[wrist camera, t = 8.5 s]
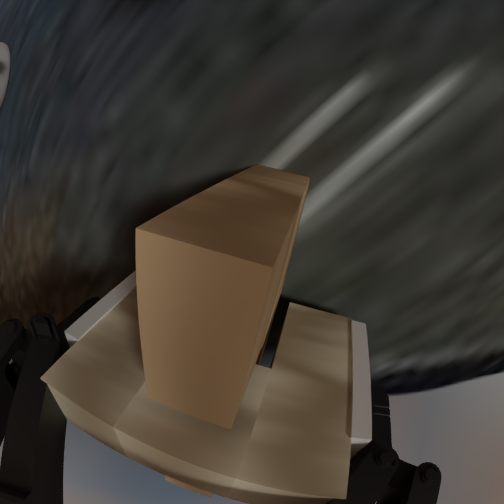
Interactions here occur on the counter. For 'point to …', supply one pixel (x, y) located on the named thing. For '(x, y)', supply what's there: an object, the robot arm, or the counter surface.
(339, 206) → the counter surface
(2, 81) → the mug
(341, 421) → the notched wooden horseshoe piece
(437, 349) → the counter surface
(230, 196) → the notched wooden block
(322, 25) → the counter surface
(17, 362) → the robot arm
